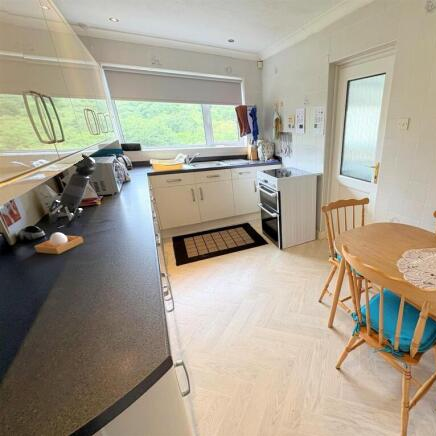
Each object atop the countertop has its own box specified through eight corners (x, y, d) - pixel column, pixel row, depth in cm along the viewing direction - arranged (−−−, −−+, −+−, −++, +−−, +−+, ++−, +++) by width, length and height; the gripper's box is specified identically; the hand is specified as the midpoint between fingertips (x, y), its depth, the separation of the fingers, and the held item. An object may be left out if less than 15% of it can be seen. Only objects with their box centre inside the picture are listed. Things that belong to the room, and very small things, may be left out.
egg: (63, 249, 113) (57, 235, 110) (49, 250, 112) (43, 235, 109) (72, 243, 118) (67, 229, 115) (59, 244, 117) (53, 230, 114)
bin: (37, 252, 110) (34, 246, 109) (64, 241, 121) (61, 235, 120) (58, 254, 109) (55, 248, 107) (84, 242, 120) (81, 236, 118)
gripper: (52, 187, 111) (38, 219, 110) (79, 197, 110) (65, 229, 109) (67, 191, 118) (55, 220, 117) (93, 199, 118) (80, 229, 116)
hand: (60, 224), depth 113 cm, fingers open, 8 cm apart
